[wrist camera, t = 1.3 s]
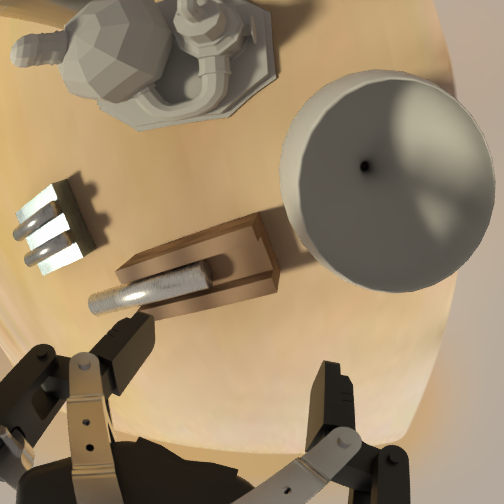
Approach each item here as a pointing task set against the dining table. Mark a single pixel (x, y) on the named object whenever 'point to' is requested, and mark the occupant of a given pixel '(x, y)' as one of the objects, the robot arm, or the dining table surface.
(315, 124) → the chalice
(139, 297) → the axle
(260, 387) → the dining table surface
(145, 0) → the grey faceted sculpture
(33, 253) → the V-block
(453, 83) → the dining table surface
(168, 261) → the grooved beam
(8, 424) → the robot arm
